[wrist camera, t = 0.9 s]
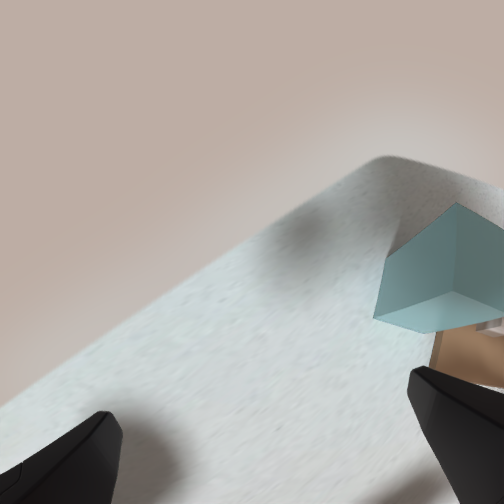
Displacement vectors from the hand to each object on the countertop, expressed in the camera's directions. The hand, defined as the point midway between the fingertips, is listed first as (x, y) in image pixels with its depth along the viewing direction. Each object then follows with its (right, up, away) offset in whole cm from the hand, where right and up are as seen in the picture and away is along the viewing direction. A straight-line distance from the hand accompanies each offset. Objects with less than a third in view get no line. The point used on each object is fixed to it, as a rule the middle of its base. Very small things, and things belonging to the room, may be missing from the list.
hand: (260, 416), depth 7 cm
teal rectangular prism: (+14, 0, +16) cm, 21 cm away
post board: (+23, -3, +15) cm, 28 cm away
